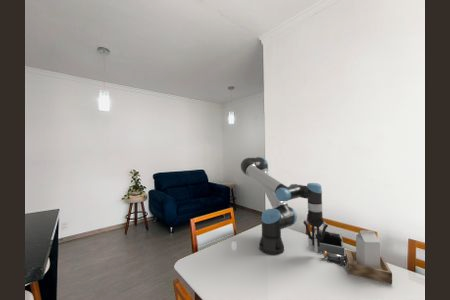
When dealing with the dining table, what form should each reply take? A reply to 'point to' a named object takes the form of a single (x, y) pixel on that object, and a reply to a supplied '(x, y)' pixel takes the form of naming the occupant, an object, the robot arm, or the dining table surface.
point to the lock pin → (333, 256)
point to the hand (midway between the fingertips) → (316, 251)
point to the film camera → (330, 239)
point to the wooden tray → (368, 268)
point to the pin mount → (337, 260)
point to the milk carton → (368, 249)
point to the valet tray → (331, 246)
